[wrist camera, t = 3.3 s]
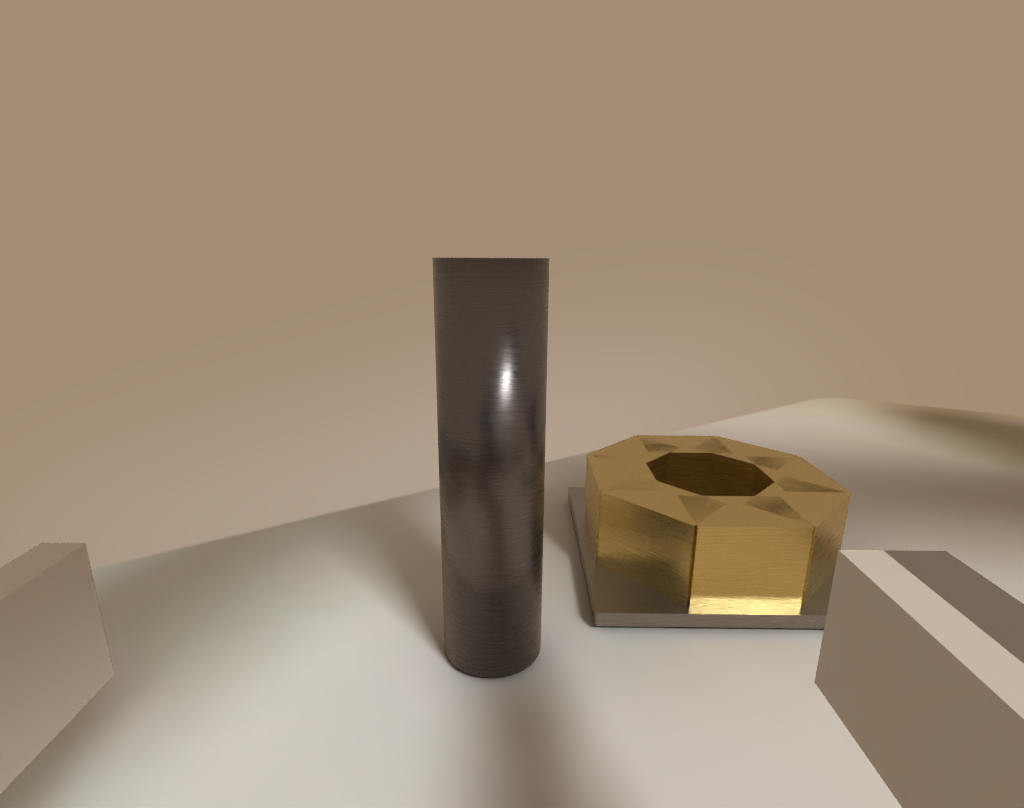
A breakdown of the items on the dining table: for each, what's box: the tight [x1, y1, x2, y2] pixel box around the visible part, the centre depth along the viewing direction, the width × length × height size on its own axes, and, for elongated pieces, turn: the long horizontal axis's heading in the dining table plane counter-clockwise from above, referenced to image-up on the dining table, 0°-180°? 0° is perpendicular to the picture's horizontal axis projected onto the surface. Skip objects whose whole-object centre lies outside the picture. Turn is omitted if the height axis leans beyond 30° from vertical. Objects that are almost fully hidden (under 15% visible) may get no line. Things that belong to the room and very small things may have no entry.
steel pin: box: [433, 258, 549, 678], centre depth 19 cm, size 4×4×14 cm
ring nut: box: [568, 435, 850, 629], centre depth 27 cm, size 12×12×4 cm
